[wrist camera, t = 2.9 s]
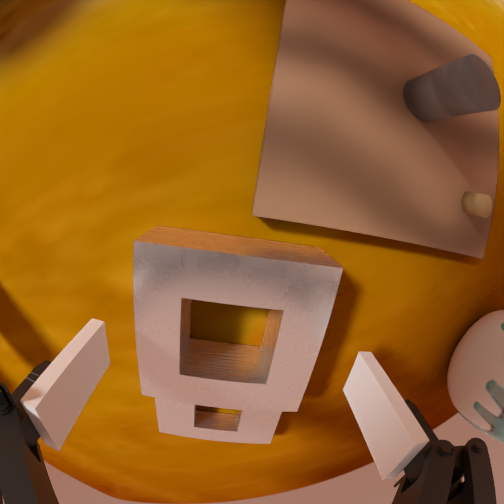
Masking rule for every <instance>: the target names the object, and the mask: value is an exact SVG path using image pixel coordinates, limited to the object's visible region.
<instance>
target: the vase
mask: <svg viewBox="0 0 504 504" xmlns="http://www.w3.org/2000/svg"><path fill="white" fill-rule="evenodd" d="M447 386H448V392H449V396H450V399H451V401H452V403H453V405H454V407H455V408H456V410H457V411H458V412H459V413H460V414H461V415H462V416H463V417H464V418H465V419H466V420H467V421H469V423H470V424H472V425H473V426H474V427H476V428H477V429H478V430H480V431H481V432H483V433H484V434H486V435H488V436H490V437H491V438H493V439H495V440H497V441H498V442H500V443H502V444H503V445H504V310H497V311H493V312H490V313H488V314H486V315H484V316H483V317H481V318H480V319H479V320H477V321H476V322H475V323H474V324H473V325H472V326H471V327H470V328H469V329H468V330H467V332H466V333H465V334H464V336H463V337H462V338H461V340H460V342H459V343H458V345H457V347H456V349H455V351H454V353H453V355H452V357H451V360H450V363H449V367H448V373H447Z"/></svg>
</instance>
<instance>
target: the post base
mask: <svg viewBox="0 0 504 504" xmlns="http://www.w3.org/2000/svg"><path fill="white" fill-rule="evenodd" d="M500 102H501V96H500V90H499V86H498V83H497V81H496V78H495V76H494V71H493V65H492V60H491V57H490V56H488V55H487V54H486V53H485V52H484V51H483V50H481V49H480V48H479V47H478V46H477V45H475V44H474V43H473V42H471V41H470V40H469V39H468V38H466V37H465V36H464V35H462V34H461V33H460V32H458V31H457V30H455V29H454V28H452V27H451V26H450V25H448V24H447V23H445V22H444V21H442V20H440V19H439V18H437V17H436V16H434V15H432V14H431V13H429V12H428V11H426V10H424V9H422V8H421V7H419V6H417V5H415V4H413V3H412V2H410V1H408V0H285V6H284V12H283V18H282V24H281V30H280V36H279V42H278V49H277V55H276V61H275V67H274V73H273V79H272V86H271V92H270V98H269V105H268V111H267V117H266V124H265V130H264V136H263V143H262V149H261V156H260V162H259V169H258V175H257V182H256V188H255V195H254V201H253V208H252V214H253V216H258V217H265V218H271V219H278V220H285V221H291V222H297V223H304V224H310V225H316V226H322V227H328V228H334V229H339V230H345V231H351V232H356V233H362V234H367V235H373V236H378V237H383V238H388V239H393V240H398V241H403V242H408V243H413V244H418V245H423V246H427V247H432V248H437V249H441V250H446V251H450V252H455V253H459V254H463V255H468V256H472V257H476V258H480V259H483V257H484V253H485V249H486V245H487V241H488V236H489V231H490V226H491V221H492V215H493V209H494V203H495V195H496V186H497V176H498V160H499V118H498V108H499V106H500Z"/></svg>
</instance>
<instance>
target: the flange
mask: <svg viewBox="0 0 504 504" xmlns="http://www.w3.org/2000/svg"><path fill="white" fill-rule="evenodd" d="M342 271H343V268H342V267H341V266H340V265H339V264H338V263H337V262H336V261H335V260H334V259H332V258H331V257H330V256H329V255H328V254H327V253H326V252H325V251H324V250H323V249H321V248H320V247H313V246H306V245H299V244H292V243H285V242H278V241H271V240H264V239H257V238H249V237H242V236H234V235H227V234H219V233H212V232H204V231H196V230H188V229H181V228H173V227H165V226H156V227H155V228H153V229H152V230H150V231H148V232H147V233H145V234H144V235H142V236H141V237H139V238H137V239H136V240H134V256H133V292H134V319H135V335H136V348H137V358H138V368H139V376H140V384H141V391H142V395H146V396H150V397H155V403H156V411H157V419H158V426H159V432H163V433H168V434H173V435H179V436H185V437H191V438H198V439H206V440H214V441H225V442H237V443H259V444H270V443H271V440H272V437H273V435H274V432H275V429H276V427H277V424H278V421H279V419H280V416H281V413H282V412H297V410H298V408H299V405H300V403H301V400H302V398H303V395H304V393H305V390H306V387H307V385H308V382H309V379H310V376H311V374H312V371H313V368H314V365H315V362H316V359H317V356H318V353H319V350H320V347H321V344H322V341H323V338H324V335H325V332H326V328H327V325H328V322H329V318H330V315H331V312H332V308H333V305H334V301H335V297H336V294H337V290H338V286H339V283H340V279H341V275H342ZM192 299H193V300H200V301H208V302H215V303H223V304H231V305H239V306H247V307H256V308H266V309H269V310H268V315H267V320H266V325H265V330H264V335H263V340H262V345H261V346H253V345H243V344H234V343H225V342H217V341H209V340H202V339H195V338H190V320H191V304H192ZM197 405H201V406H209V407H217V408H227V409H238V414H226V413H217V412H208V411H200V410H197Z"/></svg>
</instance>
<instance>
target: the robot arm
mask: <svg viewBox="0 0 504 504" xmlns="http://www.w3.org/2000/svg"><path fill="white" fill-rule="evenodd" d="M109 365H110V359H109V352H108V345H107V338H106V330H105V322H104V321H100V320H96V319H91V320H90V321H89V322H88V323H87V324H86V325H85V326H84V327H83V329H82V330H81V331H80V332H79V333H78V334H77V335H76V336H75V337H74V338H73V339H72V340H71V341H70V343H69V344H68V345H67V346H66V347H65V348H64V349H63V350H62V351H61V352H60V354H59V355H58V356H57V357H56V358H55V359H54V360H53V361H52V363H51V362H49V361H44V362H42V363H40V364H38V365H37V366H36V367H35V368H34V369H33V370H32V372H31V373H30V374H29V375H28V376H27V378H25V379H24V381H23V382H22V383H21V384H20V385H19V386H18V388H17V389H16V390H15V391H14V392H13V394H12V395H11V394H10V392H9V390H8V388H7V387H6V386H5V384H3V383H1V382H0V504H3V501H2V495H3V499H4V502H5V504H59V502H58V500H57V498H56V495H55V493H54V490H53V488H52V485H51V482H50V479H49V476H48V473H47V470H46V467H45V464H44V461H43V457H42V454H41V450H40V446H39V444H38V442H37V441H38V439H39V437H41V438H42V440H43V442H44V443H45V444H46V445H48V446H50V447H52V448H54V449H56V450H58V451H60V449H61V447H62V445H63V443H64V442H65V440H66V438H67V436H68V434H69V432H70V431H71V429H72V427H73V425H74V423H75V422H76V420H77V418H78V416H79V415H80V413H81V411H82V409H83V408H84V406H85V404H86V403H87V401H88V399H89V397H90V396H91V394H92V392H93V391H94V389H95V387H96V386H97V384H98V383H99V381H100V379H101V378H102V376H103V374H104V373H105V371H106V370H107V368H108V366H109ZM343 391H344V393H345V396H346V398H347V400H348V402H349V405H350V407H351V409H352V411H353V414H354V416H355V418H356V420H357V423H358V425H359V427H360V429H361V432H362V434H363V436H364V439H365V441H366V443H367V446H368V448H369V450H370V452H371V455H372V457H373V460H374V462H375V464H376V467H377V469H378V471H379V474H380V476H381V479H382V481H383V480H386V479H390V478H393V477H396V476H397V475H398V474H399V473H400V472H401V471H402V470H404V472H405V475H404V476H403V477H402V478H401V479H400V480H399V481H398V482H397V483H396V484H395V485H394V487H396V486H397V485H398V484H400V485H399V488H398V490H397V493H396V495H395V498H394V500H393V502H392V504H496V494H495V486H494V480H493V474H492V468H491V464H490V458H489V454H488V449H487V446H486V444H485V442H484V441H483V440H481V439H479V438H472V439H471V440H469V441H468V442H467V443H466V445H465V446H453V445H452V444H451V443H450V442H449V441H446V440H439V439H438V438H437V437H436V435H435V434H434V432H433V431H432V429H431V428H430V426H429V424H428V423H427V421H426V420H424V417H423V416H422V414H420V411H419V410H418V408H417V407H416V405H415V404H413V403H412V402H411V401H409V400H403V398H402V397H401V395H400V394H399V392H398V391H397V389H396V388H395V386H394V385H393V383H392V382H391V380H390V379H389V377H388V376H387V374H386V373H385V371H384V370H383V369H382V367H381V366H380V364H379V363H378V361H377V360H376V358H375V357H374V356H373V354H372V353H371V352H359V353H358V355H357V358H356V360H355V363H354V365H353V368H352V370H351V372H350V375H349V377H348V379H347V382H346V384H345V386H344V388H343ZM463 476H464V479H465V481H464V482H462V480H461V478H462V477H463Z"/></svg>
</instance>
